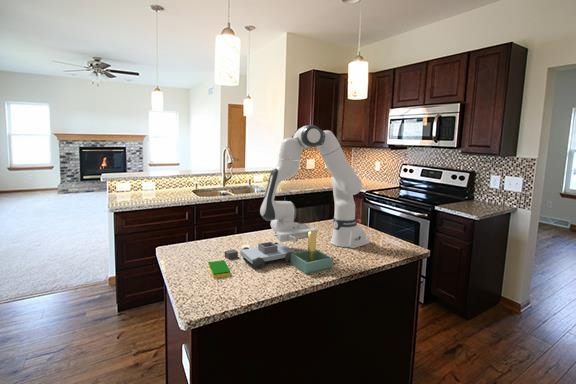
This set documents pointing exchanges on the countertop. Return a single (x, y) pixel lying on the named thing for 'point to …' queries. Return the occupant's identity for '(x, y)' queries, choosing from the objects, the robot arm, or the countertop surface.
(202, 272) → the countertop surface
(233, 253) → the wheel chock
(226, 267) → the dish sponge
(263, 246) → the trolley
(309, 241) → the pin
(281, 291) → the countertop surface
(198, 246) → the countertop surface
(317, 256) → the tray
